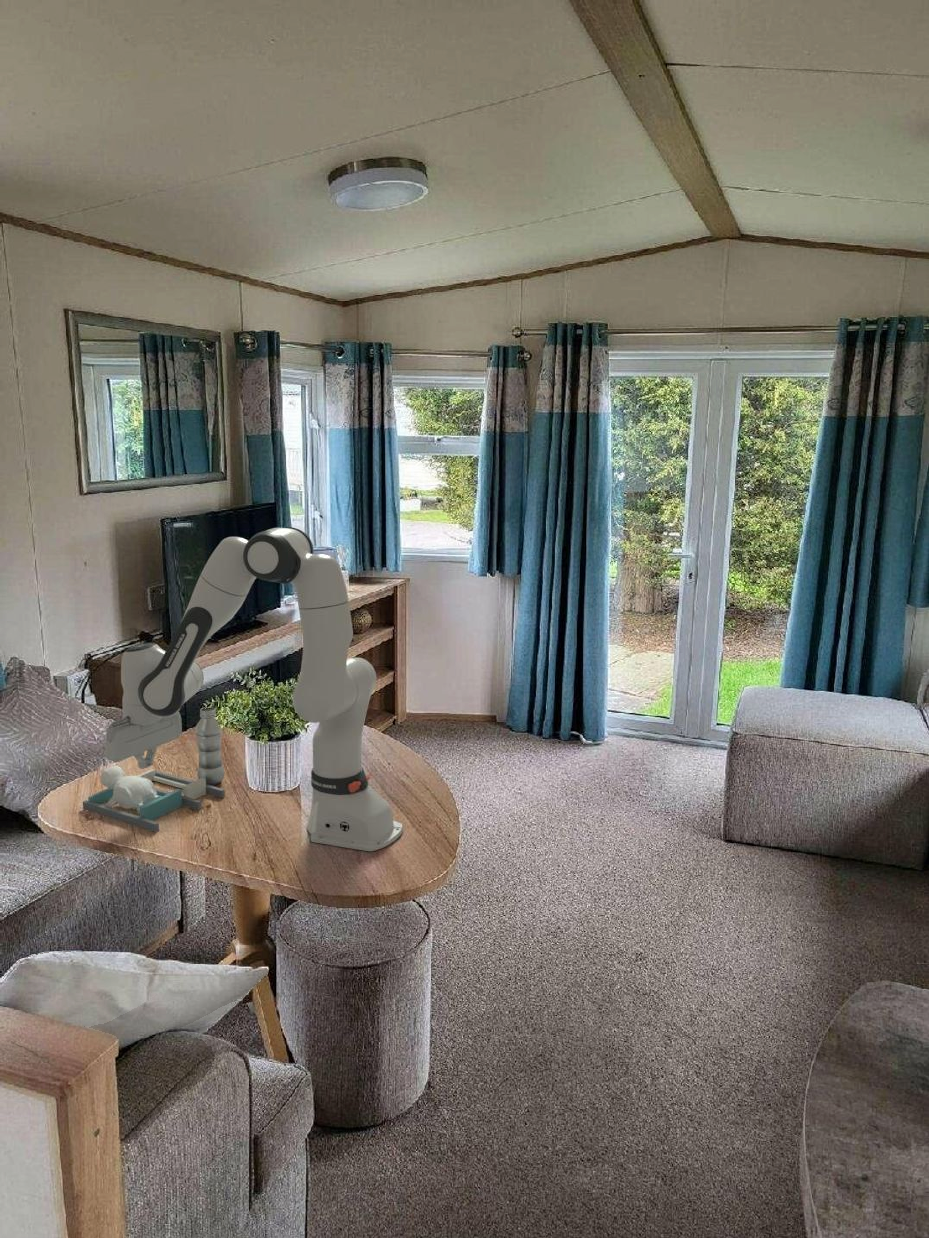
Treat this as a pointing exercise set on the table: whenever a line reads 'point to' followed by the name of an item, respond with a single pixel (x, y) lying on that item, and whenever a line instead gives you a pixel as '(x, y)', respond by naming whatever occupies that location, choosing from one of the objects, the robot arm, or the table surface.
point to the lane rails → (185, 800)
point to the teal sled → (149, 809)
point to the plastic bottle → (209, 747)
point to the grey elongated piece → (180, 784)
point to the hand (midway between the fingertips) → (145, 766)
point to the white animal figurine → (127, 789)
